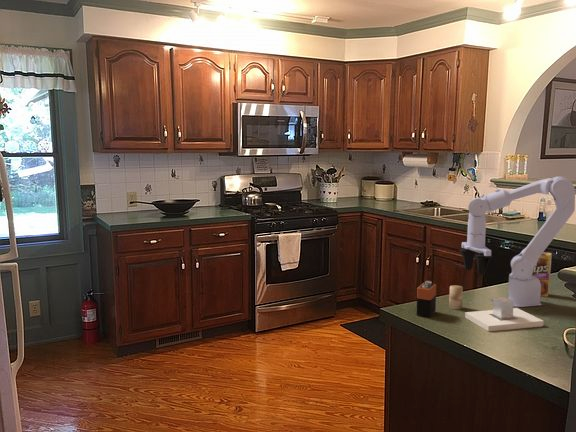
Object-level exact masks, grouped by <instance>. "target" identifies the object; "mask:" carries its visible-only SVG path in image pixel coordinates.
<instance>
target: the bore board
mask: <svg viewBox="0 0 576 432" xmlns="http://www.w3.org/2000/svg"><path fill="white" fill-rule="evenodd" d="M464 318H466V319H467V320H469V321H471V322H472V323H474V324H475V325H477V326H479V327H480V328H482V329H484V330H485V331H487V332H495V331H506V330H517V329H527V328H529V329H530V328H538V327H544V326H545V325H544V322H545V320H543V319H541V318H538V317H537V316H534V315H533V314H531V313H528V312H526V311H524V310H522V309H520V308H519V307H513V320H503V321H500V320H499V319H497V318H495V317H493V309H488V310H478V311H476V310H475V311H467V312H466V311H465V312H464Z"/></svg>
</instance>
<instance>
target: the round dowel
mask: <svg viewBox="0 0 576 432" xmlns="http://www.w3.org/2000/svg"><path fill="white" fill-rule="evenodd" d="M463 289H464V287H463V286H462V285H455V284H454V285H450V286H449V297H448V301H449V302H448V308H449V309H450V310H457V311H458V310H459V311H460V310H462V309H463V291H464V290H463Z"/></svg>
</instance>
